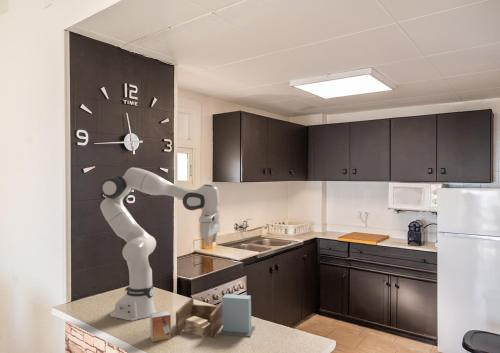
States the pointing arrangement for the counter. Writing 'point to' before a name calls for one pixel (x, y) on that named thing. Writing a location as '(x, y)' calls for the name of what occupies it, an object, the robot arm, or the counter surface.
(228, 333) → the rubber mat
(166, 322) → the small box
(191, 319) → the offcut stack
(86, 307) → the counter surface
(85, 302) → the counter surface
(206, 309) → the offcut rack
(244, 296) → the pale blue upright block
